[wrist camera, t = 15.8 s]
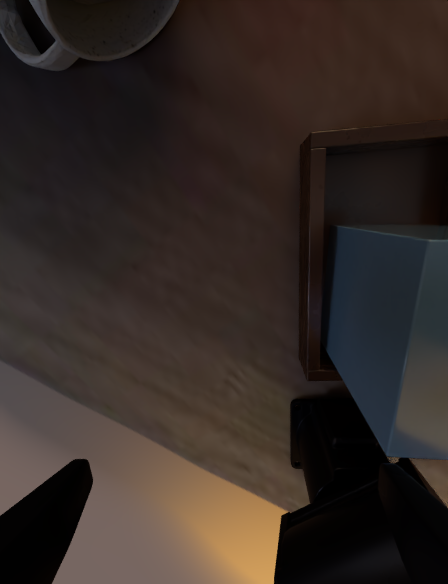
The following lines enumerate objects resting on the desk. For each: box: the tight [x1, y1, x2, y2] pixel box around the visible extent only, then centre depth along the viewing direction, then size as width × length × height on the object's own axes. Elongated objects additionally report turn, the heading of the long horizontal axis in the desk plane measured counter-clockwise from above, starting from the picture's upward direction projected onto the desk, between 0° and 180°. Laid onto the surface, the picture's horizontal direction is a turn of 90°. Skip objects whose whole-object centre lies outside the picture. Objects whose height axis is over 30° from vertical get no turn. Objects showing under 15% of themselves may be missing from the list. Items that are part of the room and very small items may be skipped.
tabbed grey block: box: [320, 224, 448, 460], centre depth 14 cm, size 6×11×10 cm, turn 0°
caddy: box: [299, 119, 448, 381], centre depth 17 cm, size 15×9×3 cm, turn 4°
